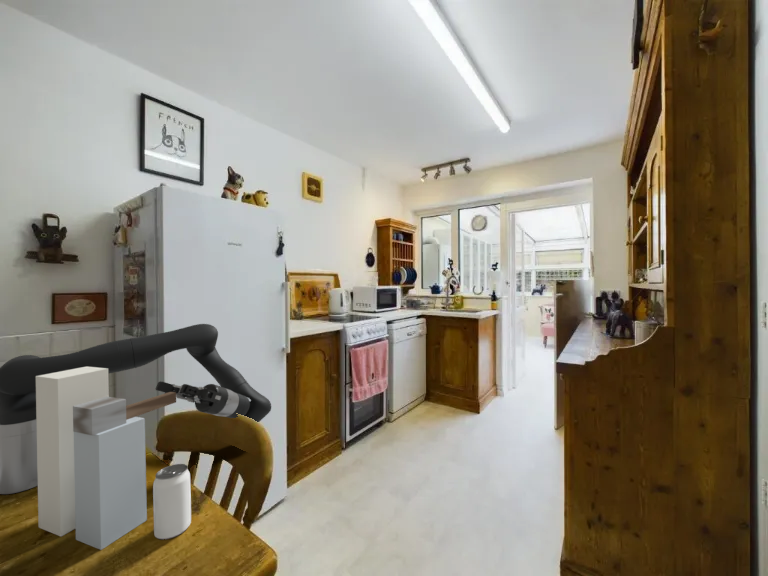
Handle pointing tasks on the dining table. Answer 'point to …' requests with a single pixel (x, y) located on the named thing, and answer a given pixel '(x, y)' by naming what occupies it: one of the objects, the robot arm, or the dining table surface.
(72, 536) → the dining table surface
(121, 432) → the short pedestal
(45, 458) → the tall pedestal
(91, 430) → the mallet
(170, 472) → the can
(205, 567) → the dining table surface
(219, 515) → the dining table surface
